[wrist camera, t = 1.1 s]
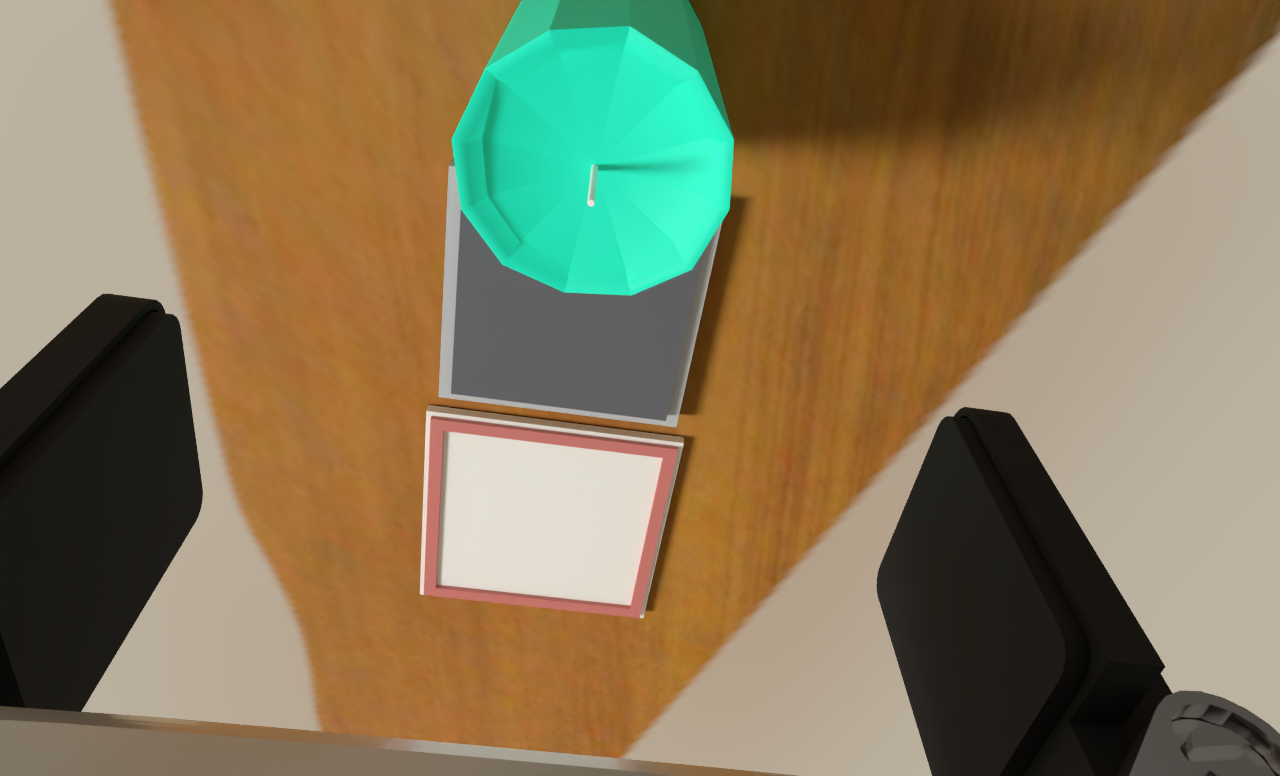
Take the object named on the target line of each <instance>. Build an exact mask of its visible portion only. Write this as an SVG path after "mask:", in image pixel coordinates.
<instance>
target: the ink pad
mask: <svg viewBox="0 0 1280 776" xmlns="http://www.w3.org/2000/svg"><path fill="white" fill-rule="evenodd" d="M721 225H722V223H721V224H720V226H719V227H718V229H717V231H716V232H715V234H714V235H713V237H712V239H711V240H710V242H709V243H708V245H707V247H706V248H705V250H704V251H703V253H702V255H701V256H700V258H699V259H698V261H697V263H696V264H695V266H694V267H693V269H692V270H690V271H688V272H686V273H683V274H681V275H679V276H676V277H674V278H672V279H669V280H667V281H665V282H662V283H660V284H658V285H655V286H653V287H651V288H648V289H646V290H644V291H641V292H639V293H637V294H634V295H632V296H630V295H607V294H585V293H564V292H562V291H560V290H557V289H555V288H553V287H551V286H549V285H546V284H544V283H542V282H540V281H537V280H535V279H533V278H531V277H529V276H526V275H524V274H522V273H520V272H517V271H515V270H513V269H511V268H509V267H506V266H504V265H502V264H501V262H500V261H499V260H498V258H497V257H496V256H495V254H494V253H493V252H492V250H491V249H490V248H489V246H488V245H487V244H486V242H485V241H484V239H483V238H482V237H481V235H480V234H479V233H478V231H477V230H476V229H475V227H474V226H473V225H472V223H471V222H470V221H469V219H468V218H467V217H466V215H465V214H464V213H463V211H462V210H461V207H460V200H459V192H458V185H457V177H456V169H455V162H454V157H453V158H452V160H451V163H450V165H449V175H448V197H447V220H446V243H445V265H444V288H443V310H442V333H441V355H440V378H439V397H443V398H450V399H458V400H466V401H474V402H482V403H490V404H498V405H506V406H513V407H521V408H529V409H537V410H545V411H553V412H561V413H569V414H576V415H584V416H592V417H600V418H608V419H616V420H624V421H632V422H639V423H647V424H655V425H663V426H671V427H676V426H677V422H678V417H679V413H680V409H681V404H682V400H683V395H684V391H685V386H686V382H687V377H688V373H689V368H690V364H691V359H692V355H693V350H694V346H695V341H696V337H697V333H698V328H699V324H700V319H701V315H702V310H703V306H704V301H705V297H706V292H707V288H708V283H709V279H710V274H711V270H712V266H713V261H714V257H715V252H716V248H717V243H718V239H719V234H720V230H721Z"/></svg>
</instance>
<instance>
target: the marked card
mask: <svg viewBox="0 0 1280 776" xmlns="http://www.w3.org/2000/svg"><path fill="white" fill-rule="evenodd" d="M683 445H684V438H683V437H679V436H671V435H663V434H655V433H647V432H639V431H631V430H623V429H615V428H607V427H599V426H591V425H584V424H576V423H568V422H560V421H552V420H544V419H536V418H528V417H520V416H512V415H504V414H496V413H488V412H480V411H472V410H465V409H457V408H449V407H441V406H433V405H428V408H427V411H426V437H425V465H424V493H423V521H422V549H421V577H420V594H423V595H430V596H439V597H448V598H458V599H467V600H476V601H486V602H495V603H504V604H513V605H523V606H532V607H541V608H551V609H560V610H569V611H579V612H588V613H597V614H607V615H616V616H625V617H635V618H643V617H644V613H645V609H646V604H647V600H648V596H649V591H650V587H651V583H652V578H653V574H654V570H655V565H656V561H657V557H658V553H659V548H660V544H661V540H662V535H663V531H664V527H665V522H666V518H667V514H668V510H669V505H670V501H671V497H672V492H673V488H674V484H675V479H676V475H677V471H678V467H679V462H680V458H681V454H682V449H683Z"/></svg>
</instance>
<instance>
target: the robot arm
mask: <svg viewBox="0 0 1280 776" xmlns="http://www.w3.org/2000/svg"><path fill="white" fill-rule="evenodd" d="M202 496H203V490H202V482H201V474H200V467H199V460H198V453H197V445H196V438H195V431H194V423H193V417H192V409H191V401H190V394H189V386H188V379H187V372H186V365H185V357H184V350H183V342H182V335H181V328H180V324H179V321H178V319H177V317H176V316H174V315H172V314H165V310H164V308H163V306H162V304H161V303H160V302H158V301H157V300H151V299H144V298H137V297H129V296H122V295H113V294H102V295H101V296H99V297H98V298H96V299H95V300H94V301H93V302H92V303H91V304H90V305H89V306H88V307H87V308H86V309H85V310H84V311H83V312H81V313H80V314H79V315H78V316H77V317H76V318H75V319H74V320H73V321H72V322H71V323H70V324H69V325H68V326H67V327H65V328H64V329H63V330H62V331H61V332H60V333H59V334H58V335H57V336H56V337H55V338H54V339H53V340H52V341H51V342H50V343H48V344H47V345H46V346H45V347H44V348H43V349H42V350H41V351H40V352H39V353H38V354H37V355H36V356H35V357H34V358H33V359H32V360H30V361H29V362H28V363H27V364H26V365H25V366H24V367H23V368H22V369H21V370H20V371H19V372H18V373H17V374H15V375H14V376H13V377H12V378H11V379H10V380H9V381H8V382H7V383H6V384H5V385H4V386H3V387H2V388H1V389H0V776H795V775H784V774H775V773H764V772H754V771H744V770H734V769H724V768H714V767H703V766H693V765H682V764H671V763H661V762H651V761H639V760H629V759H618V758H608V757H597V756H586V755H576V754H565V753H554V752H543V751H532V750H521V749H510V748H499V747H489V746H478V745H467V744H456V743H445V742H434V741H423V740H412V739H401V738H389V737H378V736H366V735H355V734H343V733H332V732H320V731H308V730H297V729H286V728H274V727H261V726H251V725H240V724H228V723H217V722H205V721H193V720H182V719H169V718H159V717H145V716H132V715H118V714H104V713H90V712H81V711H82V709H83V708H84V706H85V704H86V703H87V701H88V699H89V698H90V696H91V694H92V692H93V691H94V689H95V688H96V686H97V684H98V683H99V681H100V679H101V678H102V676H103V674H104V673H105V671H106V669H107V668H108V666H109V664H110V663H111V661H112V659H113V658H114V656H115V655H116V653H117V651H118V649H119V648H120V646H121V645H122V643H123V641H124V640H125V638H126V636H127V634H128V633H129V631H130V629H131V628H132V626H133V625H134V623H135V621H136V620H137V618H138V616H139V615H140V613H141V611H142V610H143V608H144V606H145V605H146V603H147V601H148V600H149V598H150V596H151V595H152V593H153V591H154V590H155V588H156V586H157V585H158V583H159V581H160V580H161V578H162V577H163V575H164V573H165V572H166V570H167V568H168V566H169V565H170V563H171V562H172V560H173V558H174V556H175V555H176V553H177V552H178V550H179V548H180V547H181V545H182V543H183V541H184V540H185V538H186V536H187V535H188V533H189V532H190V530H191V528H192V527H193V525H194V523H195V522H196V520H197V518H198V515H199V512H200V509H201V504H202ZM877 594H878V598H879V601H880V605H881V608H882V611H883V615H884V618H885V621H886V625H887V628H888V631H889V635H890V637H891V641H892V644H893V648H894V651H895V654H896V657H897V661H898V664H899V668H900V671H901V674H902V677H903V681H904V684H905V687H906V691H907V694H908V697H909V700H910V704H911V707H912V710H913V714H914V717H915V720H916V723H917V727H918V730H919V733H920V737H921V740H922V743H923V747H924V750H925V753H926V756H927V760H928V763H929V766H930V769H931V773H932V776H1280V734H1279V733H1278V732H1277V731H1276V730H1275V729H1274V728H1273V727H1272V726H1271V725H1269V724H1268V723H1266V722H1265V721H1263V720H1262V719H1260V718H1259V717H1258V716H1256V715H1255V714H1253V713H1252V712H1250V711H1248V710H1247V709H1245V708H1243V707H1241V706H1239V705H1237V704H1235V703H1233V702H1231V701H1228V700H1227V699H1225V698H1222V697H1219V696H1215V695H1212V694H1208V693H1204V692H1201V691H1179V692H1176V693H1173V694H1172V692H1171V690H1170V689H1169V687H1168V686H1167V684H1166V682H1165V681H1164V679H1163V677H1162V675H1161V674H1160V673H1161V672H1162V671H1163V669H1164V668H1165V666H1164V664H1163V662H1162V661H1161V659H1160V657H1159V656H1158V654H1157V652H1156V651H1155V649H1154V647H1153V646H1152V644H1151V643H1150V641H1149V639H1148V638H1147V636H1146V634H1145V633H1144V631H1143V629H1142V628H1141V626H1140V625H1139V623H1138V621H1137V620H1136V618H1135V616H1134V615H1133V613H1132V612H1131V610H1130V608H1129V606H1128V605H1127V603H1126V601H1125V600H1124V598H1123V596H1122V595H1121V593H1120V592H1119V590H1118V588H1117V587H1116V585H1115V584H1114V582H1113V580H1112V578H1111V577H1110V575H1109V573H1108V572H1107V570H1106V568H1105V567H1104V565H1103V564H1102V562H1101V560H1100V559H1099V557H1098V555H1097V554H1096V552H1095V550H1094V549H1093V547H1092V545H1091V544H1090V542H1089V541H1088V539H1087V537H1086V536H1085V534H1084V533H1083V531H1082V529H1081V527H1080V526H1079V524H1078V522H1077V521H1076V519H1075V517H1074V516H1073V514H1072V513H1071V511H1070V509H1069V508H1068V506H1067V504H1066V503H1065V501H1064V499H1063V498H1062V496H1061V494H1060V493H1059V491H1058V490H1057V488H1056V486H1055V485H1054V483H1053V481H1052V480H1051V478H1050V476H1049V475H1048V473H1047V472H1046V470H1045V468H1044V467H1043V465H1042V463H1041V462H1040V460H1039V458H1038V457H1037V455H1036V453H1035V452H1034V450H1033V449H1032V447H1031V445H1030V443H1029V442H1028V440H1027V439H1026V437H1025V435H1024V434H1023V432H1022V430H1021V429H1020V427H1019V426H1018V424H1017V422H1016V421H1015V419H1014V418H1013V417H1012V415H1011V414H1009V413H1005V412H998V411H990V410H983V409H976V408H968V407H964V408H961V409H960V410H959V411H958V412H957V413H956V414H955V416H954V417H949V416H947V417H945V418H944V419H943V420H942V421H941V422H940V424H939V426H938V428H937V431H936V433H935V435H934V438H933V440H932V443H931V445H930V448H929V450H928V452H927V455H926V457H925V459H924V462H923V464H922V467H921V469H920V471H919V474H918V476H917V479H916V481H915V483H914V486H913V488H912V491H911V493H910V495H909V498H908V500H907V503H906V505H905V507H904V510H903V512H902V515H901V517H900V519H899V522H898V524H897V527H896V529H895V531H894V534H893V536H892V539H891V541H890V543H889V546H888V548H887V551H886V553H885V555H884V558H883V560H882V562H881V565H880V568H879V571H878V577H877Z"/></svg>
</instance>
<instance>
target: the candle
mask: <svg viewBox="0 0 1280 776" xmlns="http://www.w3.org/2000/svg"><path fill="white" fill-rule="evenodd" d="M452 147H453V154H454V162H455V169H456V177H457V185H458V192H459V200H460V207H461V210H462V211H463V213H464V214H465V215H466V217H467V218H468V219H469V221H470V222H471V223H472V225H473V226H474V227H475V229H476V230H477V231H478V233H479V234H480V235H481V237H482V238H483V239H484V241H485V242H486V244H487V245H488V246H489V248H490V249H491V250H492V252H493V253H494V254H495V256H496V257H497V258H498V260H499V261H500V262H501V264H502V265H504V266H506V267H509V268H511V269H513V270H515V271H517V272H520V273H522V274H524V275H526V276H529V277H531V278H533V279H535V280H537V281H540V282H542V283H544V284H546V285H549V286H551V287H553V288H555V289H557V290H560V291H562V292H564V293H585V294H607V295H630V296H632V295H634V294H637V293H639V292H641V291H644V290H646V289H648V288H651V287H653V286H655V285H658V284H660V283H662V282H665V281H667V280H669V279H672V278H674V277H676V276H679V275H681V274H683V273H686V272H688V271H690V270H692V269H693V267H694V266H695V264H696V263H697V261H698V259H699V258H700V256H701V255H702V253H703V251H704V250H705V248H706V247H707V245H708V243H709V242H710V240H711V239H712V237H713V235H714V234H715V232H716V231H717V229H718V227H719V226H720V224H721V223H722V221H723V219H724V218H725V216H726V215H727V213H728V212H729V210H730V196H731V180H732V164H733V147H734V138H733V134H732V131H731V127H730V123H729V120H728V116H727V113H726V109H725V106H724V102H723V99H722V95H721V91H720V88H719V84H718V81H717V77H716V74H715V70H714V67H713V63H712V59H711V56H710V52H709V49H708V45H707V42H706V38H705V35H704V31H703V27H702V25H701V23H700V21H699V19H698V17H697V15H696V13H695V12H694V10H693V8H692V6H691V4H690V2H689V0H521V2H520V4H519V6H518V8H517V10H516V12H515V13H514V15H513V17H512V19H511V21H510V23H509V25H508V26H507V28H506V30H505V32H504V34H503V36H502V38H501V40H500V41H499V43H498V45H497V47H496V49H495V51H494V53H493V55H492V56H491V58H490V60H489V62H488V64H487V66H486V68H485V70H484V72H483V74H482V76H481V78H480V80H479V82H478V85H477V87H476V89H475V91H474V93H473V95H472V97H471V99H470V101H469V104H468V106H467V108H466V110H465V112H464V114H463V116H462V118H461V121H460V123H459V125H458V127H457V129H456V131H455V133H454V135H453V137H452Z"/></svg>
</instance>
